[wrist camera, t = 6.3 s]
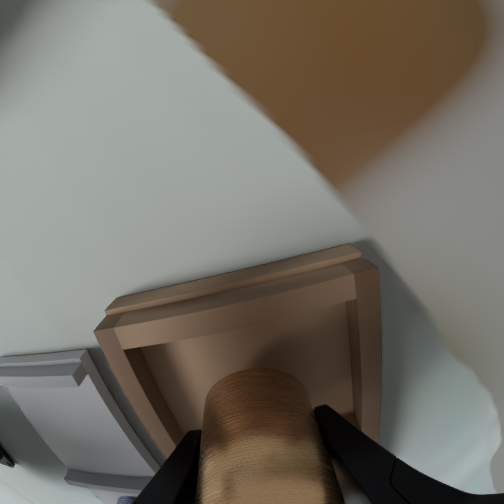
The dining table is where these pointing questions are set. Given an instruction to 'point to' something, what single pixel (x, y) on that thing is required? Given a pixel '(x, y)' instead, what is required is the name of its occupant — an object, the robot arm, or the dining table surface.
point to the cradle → (79, 422)
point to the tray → (251, 339)
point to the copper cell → (263, 443)
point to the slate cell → (125, 500)
